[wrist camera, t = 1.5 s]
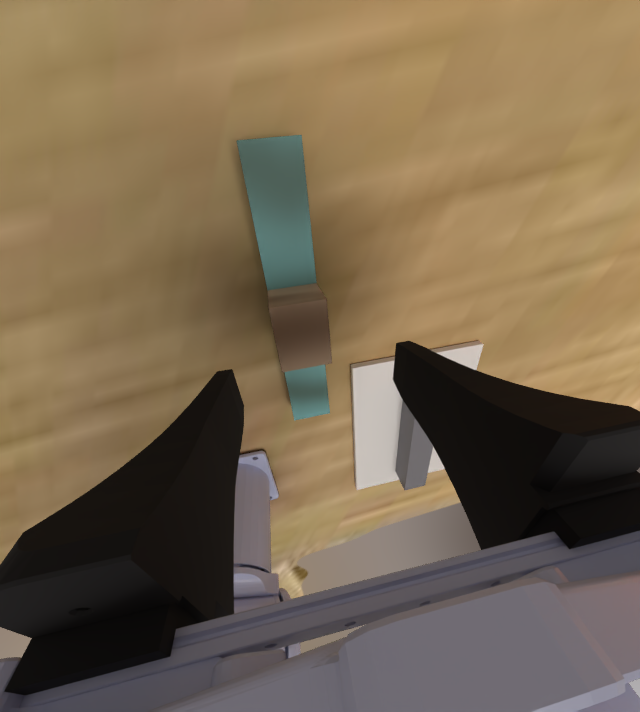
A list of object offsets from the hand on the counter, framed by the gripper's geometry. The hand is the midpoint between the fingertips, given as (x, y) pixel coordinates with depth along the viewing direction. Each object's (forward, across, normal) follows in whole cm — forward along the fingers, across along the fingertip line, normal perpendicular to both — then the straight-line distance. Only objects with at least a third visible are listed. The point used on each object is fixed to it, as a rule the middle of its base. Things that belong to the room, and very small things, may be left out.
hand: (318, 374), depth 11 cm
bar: (+9, 0, 0) cm, 9 cm away
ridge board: (+8, -10, +15) cm, 20 cm away
